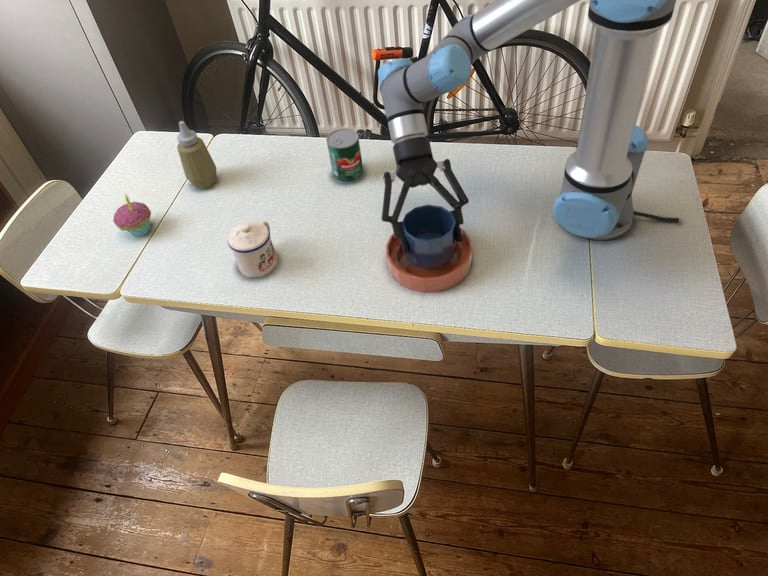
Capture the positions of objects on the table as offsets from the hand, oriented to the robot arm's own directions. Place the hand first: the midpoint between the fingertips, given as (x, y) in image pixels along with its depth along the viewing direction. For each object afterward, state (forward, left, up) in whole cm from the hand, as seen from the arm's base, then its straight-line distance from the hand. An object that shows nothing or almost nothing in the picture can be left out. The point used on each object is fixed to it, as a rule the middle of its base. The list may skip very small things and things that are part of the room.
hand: (432, 247), depth 118 cm
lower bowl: (+2, -3, -7) cm, 8 cm away
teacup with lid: (+39, +5, -8) cm, 40 cm away
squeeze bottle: (+66, -17, -8) cm, 68 cm away
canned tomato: (+30, -28, -8) cm, 41 cm away
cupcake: (+73, +3, -8) cm, 73 cm away
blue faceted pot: (+1, -3, -4) cm, 5 cm away
